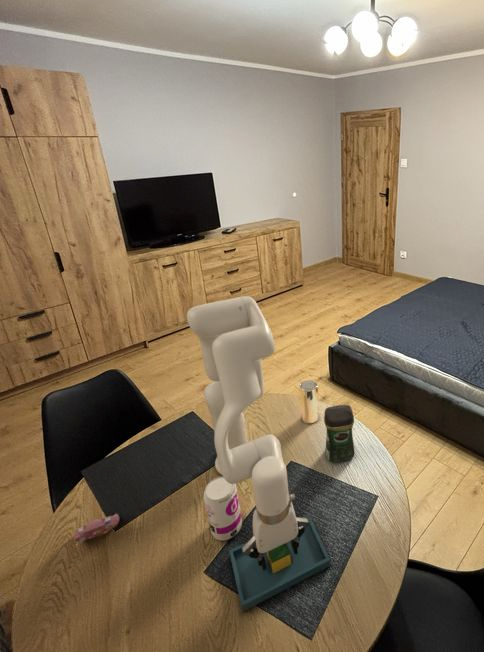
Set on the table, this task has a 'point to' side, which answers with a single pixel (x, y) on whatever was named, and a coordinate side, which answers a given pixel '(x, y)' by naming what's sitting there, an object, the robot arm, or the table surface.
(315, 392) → the silver metal cylinder
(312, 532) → the tray
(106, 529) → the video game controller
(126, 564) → the table surface
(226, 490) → the supplement can
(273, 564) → the sponge
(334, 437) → the coffee jar
